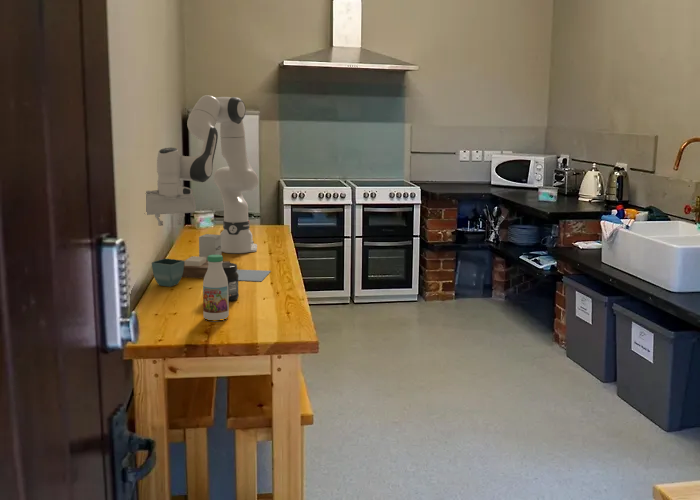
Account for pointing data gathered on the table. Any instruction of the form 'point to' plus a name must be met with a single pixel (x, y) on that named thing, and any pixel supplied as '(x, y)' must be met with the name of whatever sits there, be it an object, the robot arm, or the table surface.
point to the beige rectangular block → (195, 261)
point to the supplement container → (231, 280)
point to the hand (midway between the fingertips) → (170, 224)
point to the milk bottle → (215, 290)
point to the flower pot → (168, 271)
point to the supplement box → (209, 245)
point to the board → (196, 270)
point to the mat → (252, 275)
